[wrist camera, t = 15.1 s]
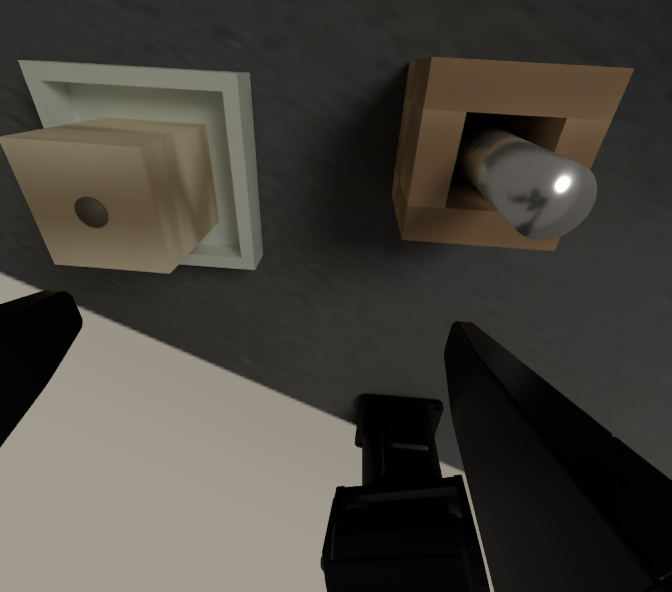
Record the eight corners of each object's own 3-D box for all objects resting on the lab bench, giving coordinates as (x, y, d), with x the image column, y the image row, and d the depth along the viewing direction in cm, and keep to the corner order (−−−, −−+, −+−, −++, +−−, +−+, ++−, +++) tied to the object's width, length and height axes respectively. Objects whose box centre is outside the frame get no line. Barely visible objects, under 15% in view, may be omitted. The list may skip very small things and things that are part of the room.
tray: (263, 254, 21) (254, 269, 20) (113, 243, 22) (93, 257, 20) (249, 72, 16) (236, 73, 14) (53, 61, 16) (17, 60, 15)
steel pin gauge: (475, 160, 18) (575, 243, 9) (435, 157, 18) (499, 237, 9) (486, 116, 16) (612, 164, 8) (444, 113, 16) (526, 158, 8)
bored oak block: (503, 202, 19) (554, 250, 14) (391, 194, 19) (401, 239, 14) (545, 68, 15) (634, 68, 10) (409, 61, 15) (432, 56, 10)
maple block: (219, 221, 20) (168, 274, 15) (132, 215, 20) (52, 265, 15) (205, 124, 17) (137, 147, 12) (105, 117, 17) (-5, 137, 12)
